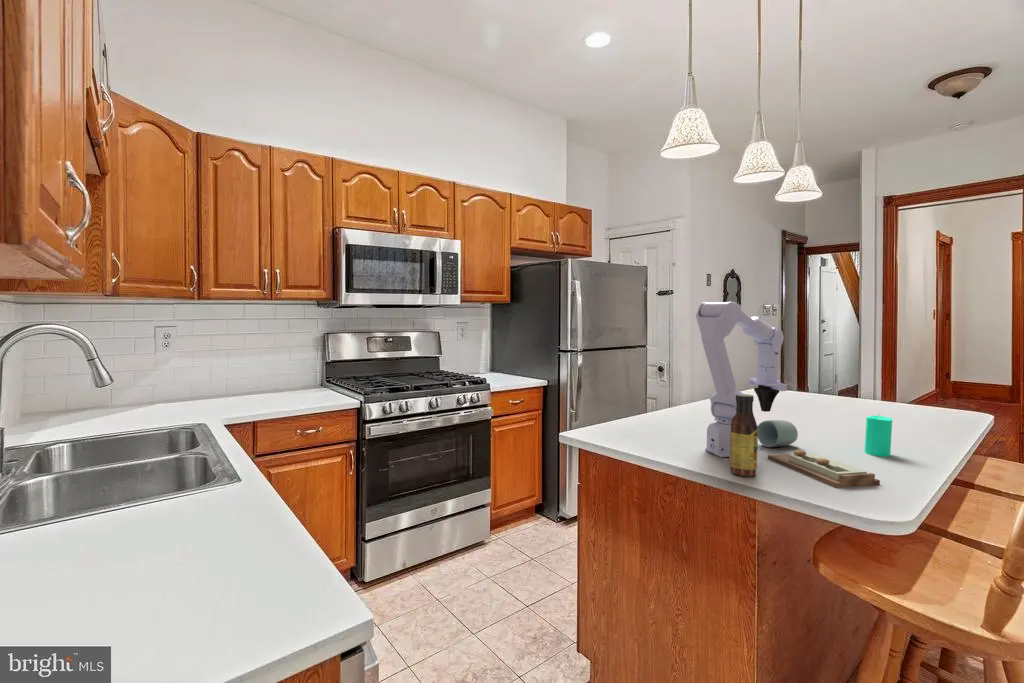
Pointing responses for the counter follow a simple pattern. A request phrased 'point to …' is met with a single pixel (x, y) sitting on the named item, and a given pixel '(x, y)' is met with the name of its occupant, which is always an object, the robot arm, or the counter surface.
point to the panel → (830, 470)
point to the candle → (878, 435)
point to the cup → (777, 433)
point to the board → (842, 482)
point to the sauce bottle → (743, 438)
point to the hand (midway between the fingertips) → (765, 411)
